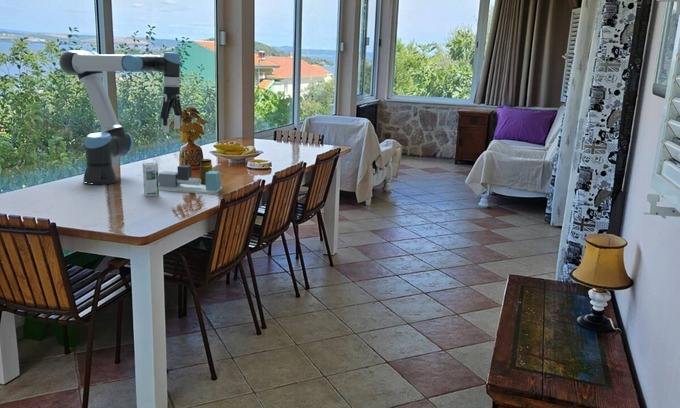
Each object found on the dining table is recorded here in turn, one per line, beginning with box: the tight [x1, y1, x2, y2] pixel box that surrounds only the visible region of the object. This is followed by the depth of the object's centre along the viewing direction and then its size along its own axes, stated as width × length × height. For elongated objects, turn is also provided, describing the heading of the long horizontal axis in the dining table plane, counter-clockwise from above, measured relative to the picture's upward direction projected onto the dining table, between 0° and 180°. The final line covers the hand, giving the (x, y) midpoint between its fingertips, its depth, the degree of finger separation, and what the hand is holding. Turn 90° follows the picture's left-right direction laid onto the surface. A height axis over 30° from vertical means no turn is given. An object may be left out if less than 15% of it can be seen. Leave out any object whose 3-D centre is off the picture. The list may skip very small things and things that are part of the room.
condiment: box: [199, 158, 213, 185], centre depth 294 cm, size 7×8×12 cm
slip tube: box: [158, 164, 201, 186], centre depth 281 cm, size 22×4×9 cm, turn 82°
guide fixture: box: [158, 170, 223, 195], centre depth 281 cm, size 28×12×9 cm, turn 82°
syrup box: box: [142, 162, 160, 197], centre depth 266 cm, size 6×6×14 cm
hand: (171, 130), depth 285 cm, fingers open, 13 cm apart
